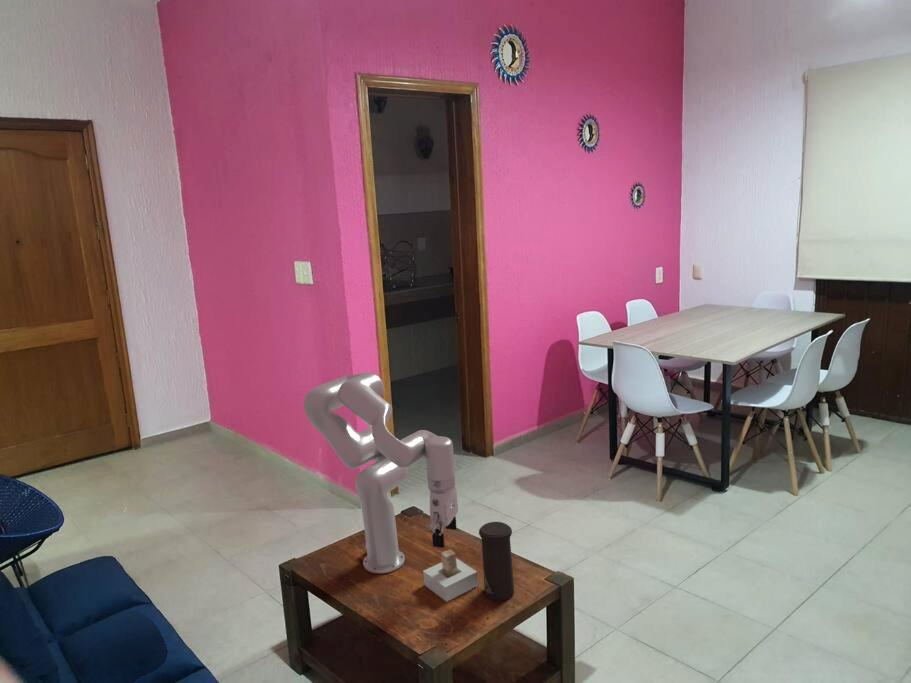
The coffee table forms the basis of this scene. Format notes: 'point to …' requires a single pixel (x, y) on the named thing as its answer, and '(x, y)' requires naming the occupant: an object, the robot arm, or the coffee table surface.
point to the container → (497, 560)
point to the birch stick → (449, 563)
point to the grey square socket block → (450, 580)
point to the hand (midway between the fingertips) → (445, 537)
